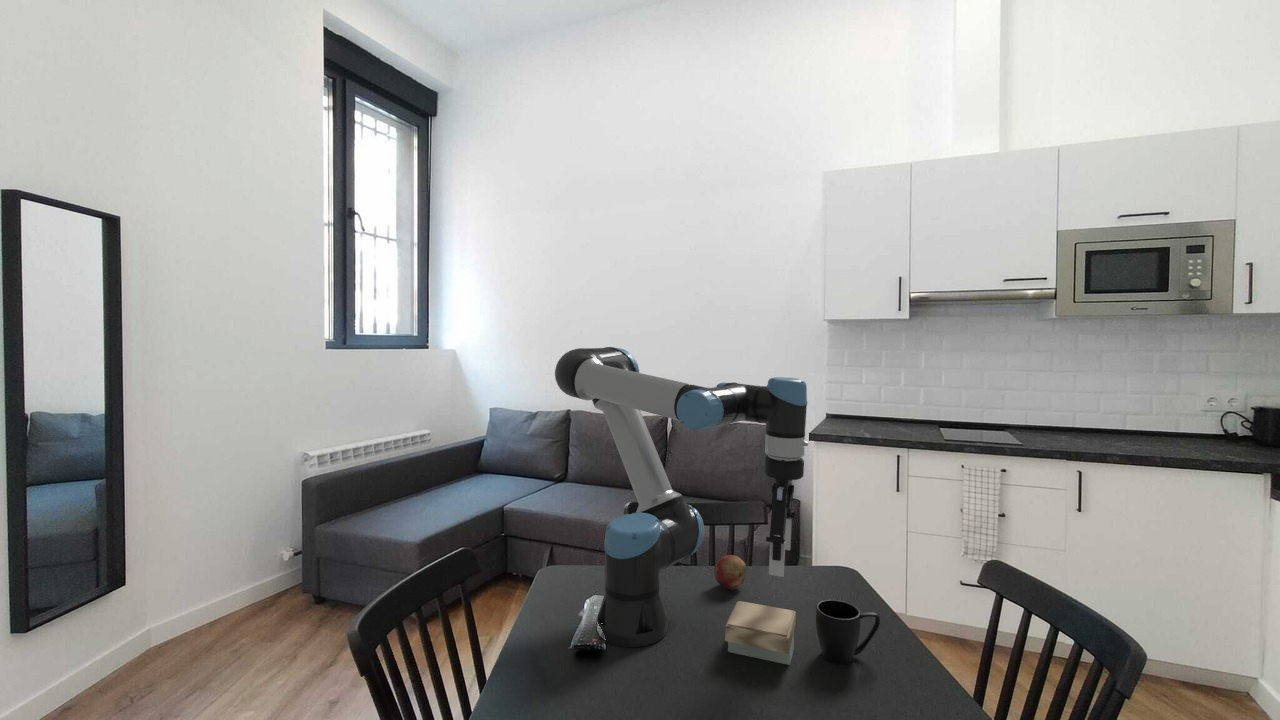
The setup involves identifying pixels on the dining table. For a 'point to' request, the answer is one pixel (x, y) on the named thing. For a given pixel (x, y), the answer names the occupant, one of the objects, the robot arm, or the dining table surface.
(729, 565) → the fruit
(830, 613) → the mug
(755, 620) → the lid
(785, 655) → the sage green box base
